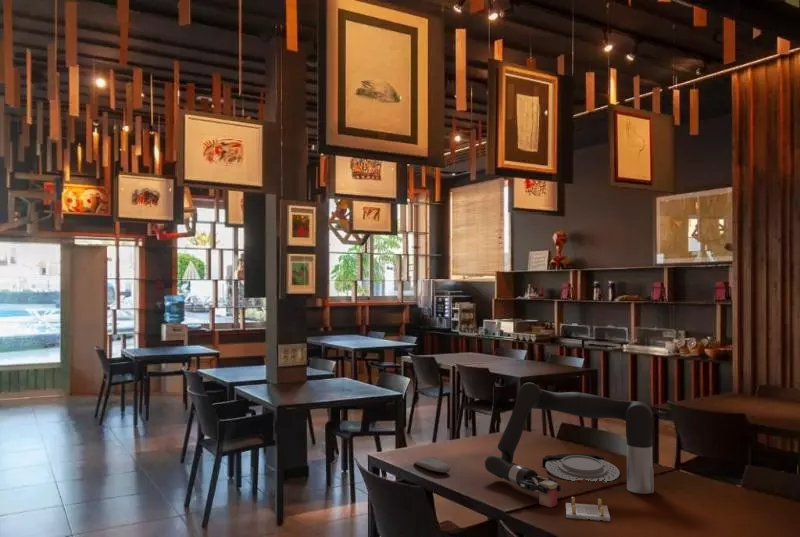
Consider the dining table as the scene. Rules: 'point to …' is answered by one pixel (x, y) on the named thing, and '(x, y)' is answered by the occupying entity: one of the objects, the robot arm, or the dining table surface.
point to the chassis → (587, 511)
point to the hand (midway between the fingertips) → (553, 489)
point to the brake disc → (580, 467)
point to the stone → (433, 464)
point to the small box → (548, 494)
